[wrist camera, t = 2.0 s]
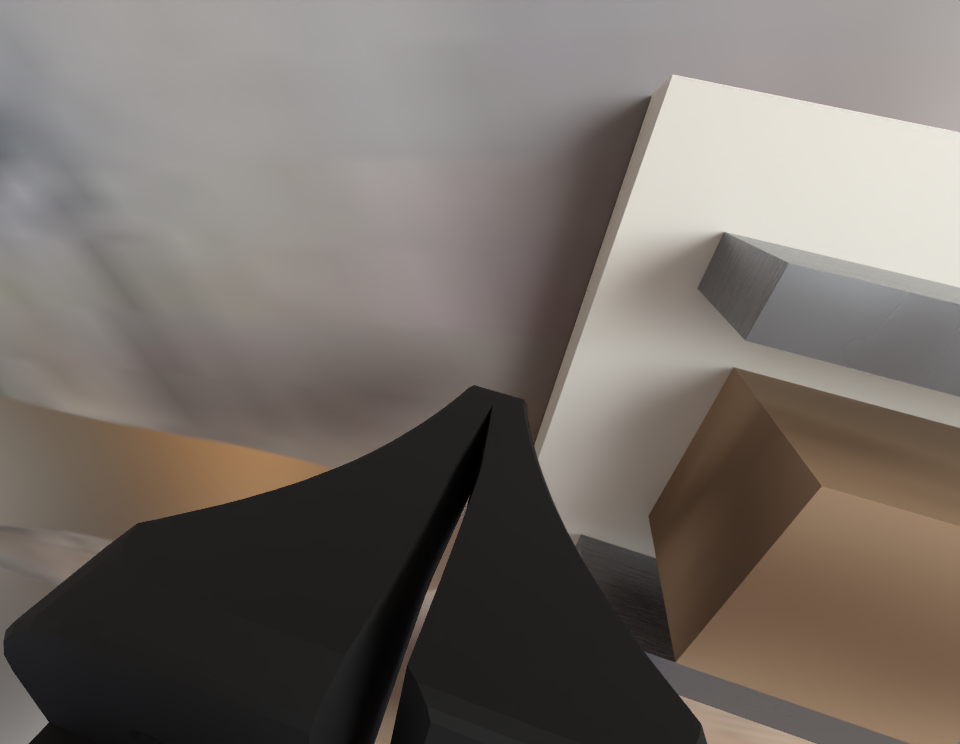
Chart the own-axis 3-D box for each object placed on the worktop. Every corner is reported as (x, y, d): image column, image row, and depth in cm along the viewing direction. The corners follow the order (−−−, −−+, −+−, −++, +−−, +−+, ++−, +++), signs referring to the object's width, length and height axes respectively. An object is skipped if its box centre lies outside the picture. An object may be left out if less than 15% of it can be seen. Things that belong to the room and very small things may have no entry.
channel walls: (895, 665, 12) (980, 801, 10) (569, 558, 13) (566, 655, 11) (1296, 367, 7) (1696, 481, 5) (724, 231, 8) (789, 263, 6)
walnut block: (828, 572, 11) (936, 752, 8) (648, 516, 12) (675, 662, 8) (967, 430, 9) (1213, 600, 5) (733, 366, 9) (821, 486, 6)
